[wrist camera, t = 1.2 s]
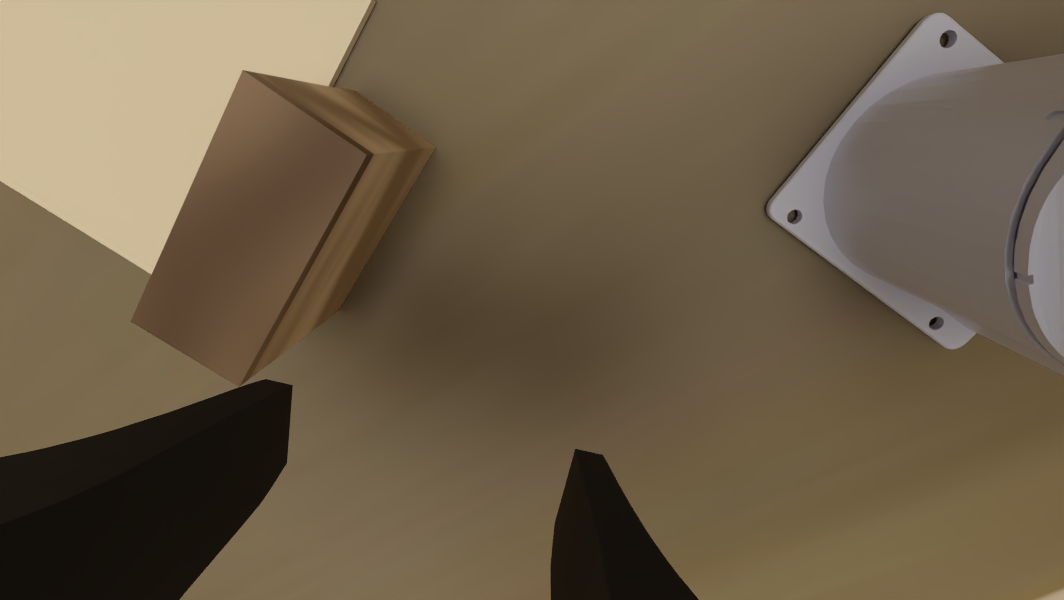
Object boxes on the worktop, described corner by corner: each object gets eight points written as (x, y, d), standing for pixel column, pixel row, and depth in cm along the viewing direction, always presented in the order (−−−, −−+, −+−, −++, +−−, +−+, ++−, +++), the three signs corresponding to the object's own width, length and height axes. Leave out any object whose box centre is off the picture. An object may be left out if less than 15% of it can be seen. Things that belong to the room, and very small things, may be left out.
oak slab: (435, 147, 20) (366, 154, 13) (339, 310, 22) (238, 386, 15) (355, 91, 19) (242, 70, 13) (266, 263, 22) (130, 321, 15)
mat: (376, 2, 18) (371, -1, 18) (219, 309, 22) (213, 312, 22) (57, -230, 17) (45, -238, 16) (-48, 144, 21) (-59, 144, 21)
